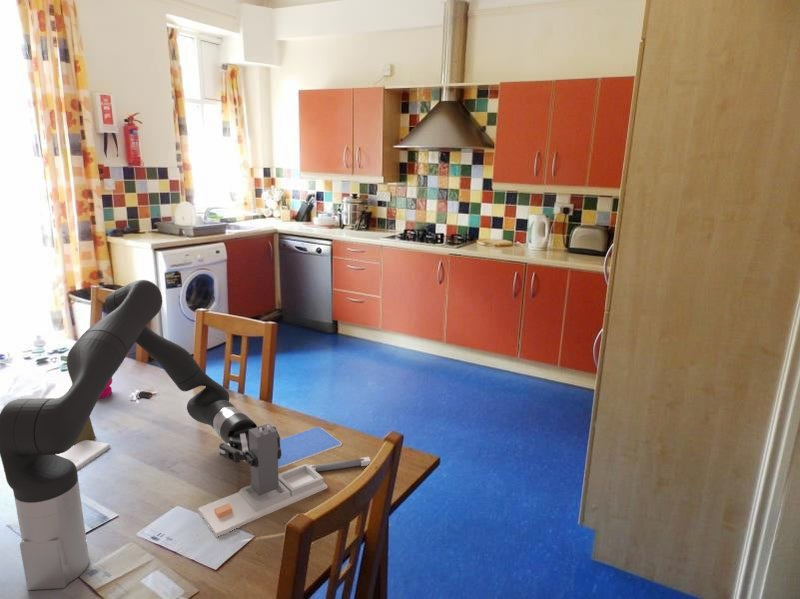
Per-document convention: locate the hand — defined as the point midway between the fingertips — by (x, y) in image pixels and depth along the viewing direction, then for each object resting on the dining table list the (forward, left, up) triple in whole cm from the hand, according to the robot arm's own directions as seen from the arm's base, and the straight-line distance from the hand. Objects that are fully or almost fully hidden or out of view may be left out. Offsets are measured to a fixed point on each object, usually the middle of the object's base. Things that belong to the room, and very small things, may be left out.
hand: (268, 459), depth 112 cm
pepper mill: (+58, +59, -11) cm, 84 cm away
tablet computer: (+23, -5, -12) cm, 27 cm away
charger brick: (+2, +1, -8) cm, 8 cm away
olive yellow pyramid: (+30, +52, -11) cm, 61 cm away
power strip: (+1, +1, -11) cm, 11 cm away
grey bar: (+12, -15, -11) cm, 22 cm away
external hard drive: (+22, +49, -12) cm, 55 cm away
